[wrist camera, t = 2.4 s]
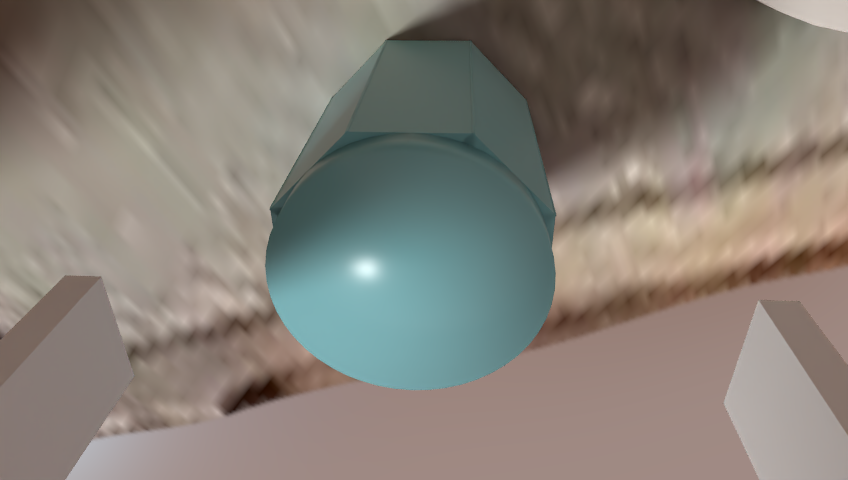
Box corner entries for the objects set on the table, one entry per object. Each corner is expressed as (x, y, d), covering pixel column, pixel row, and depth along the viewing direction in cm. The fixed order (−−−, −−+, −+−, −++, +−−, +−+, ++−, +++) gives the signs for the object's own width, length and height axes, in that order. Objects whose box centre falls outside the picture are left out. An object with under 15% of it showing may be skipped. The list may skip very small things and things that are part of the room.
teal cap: (342, 216, 24) (283, 386, 16) (326, 38, 20) (242, 147, 13) (516, 220, 23) (542, 395, 16) (531, 40, 20) (573, 152, 12)
